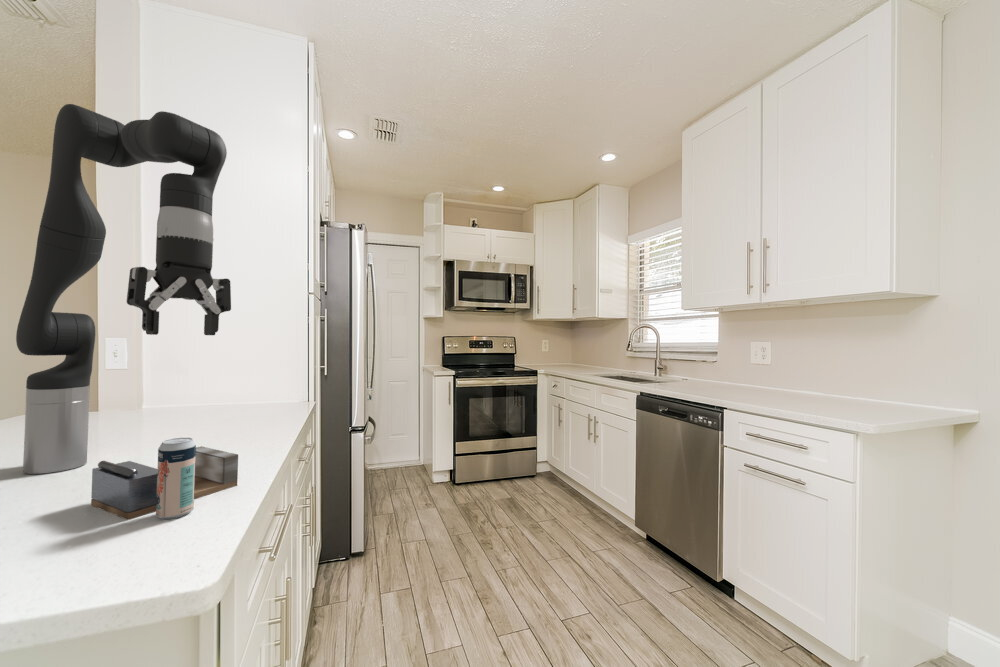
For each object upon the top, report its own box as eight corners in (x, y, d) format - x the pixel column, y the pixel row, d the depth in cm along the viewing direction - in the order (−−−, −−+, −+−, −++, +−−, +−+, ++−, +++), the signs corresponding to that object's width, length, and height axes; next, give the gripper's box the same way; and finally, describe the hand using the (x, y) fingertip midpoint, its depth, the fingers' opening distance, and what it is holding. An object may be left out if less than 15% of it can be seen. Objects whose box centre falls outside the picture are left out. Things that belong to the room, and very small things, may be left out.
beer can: (162, 510, 67) (165, 438, 67) (197, 506, 69) (199, 436, 69) (150, 522, 62) (153, 445, 63) (188, 518, 64) (191, 442, 64)
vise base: (91, 505, 68) (92, 469, 68) (200, 475, 84) (201, 446, 84) (127, 520, 63) (129, 481, 63) (237, 485, 79) (238, 454, 79)
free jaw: (91, 498, 68) (92, 461, 68) (130, 488, 73) (131, 453, 73) (128, 512, 63) (129, 472, 63) (167, 500, 68) (168, 463, 68)
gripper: (216, 249, 76) (213, 335, 76) (120, 230, 63) (116, 333, 63) (242, 246, 73) (239, 336, 73) (146, 226, 60) (142, 334, 60)
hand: (182, 334), depth 68 cm, fingers open, 8 cm apart
